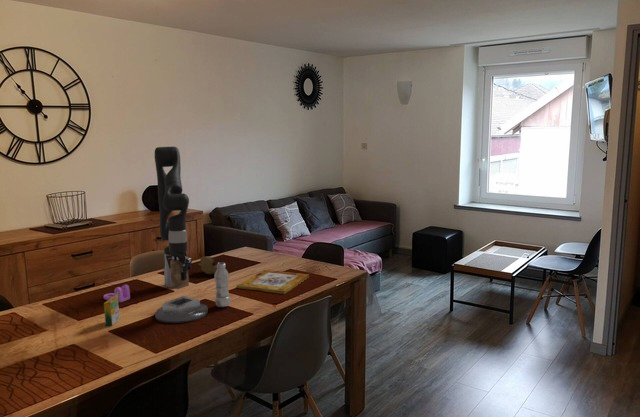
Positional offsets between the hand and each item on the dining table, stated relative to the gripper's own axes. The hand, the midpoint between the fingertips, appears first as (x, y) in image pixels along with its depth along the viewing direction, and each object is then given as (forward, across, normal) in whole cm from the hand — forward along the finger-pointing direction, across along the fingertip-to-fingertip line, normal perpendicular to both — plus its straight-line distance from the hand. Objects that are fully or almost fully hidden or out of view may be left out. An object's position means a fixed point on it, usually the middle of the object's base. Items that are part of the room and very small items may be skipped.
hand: (180, 279), depth 212 cm
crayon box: (+16, -17, -22) cm, 32 cm away
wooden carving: (+15, -34, +52) cm, 64 cm away
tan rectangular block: (+3, 0, 0) cm, 3 cm away
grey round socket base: (+15, 0, 0) cm, 15 cm away
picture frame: (+16, +7, +57) cm, 60 cm away
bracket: (+16, -43, -2) cm, 46 cm away
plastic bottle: (+16, +9, +16) cm, 24 cm away
